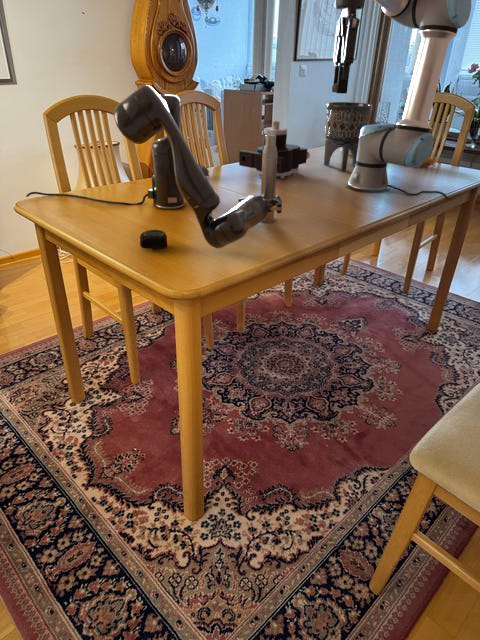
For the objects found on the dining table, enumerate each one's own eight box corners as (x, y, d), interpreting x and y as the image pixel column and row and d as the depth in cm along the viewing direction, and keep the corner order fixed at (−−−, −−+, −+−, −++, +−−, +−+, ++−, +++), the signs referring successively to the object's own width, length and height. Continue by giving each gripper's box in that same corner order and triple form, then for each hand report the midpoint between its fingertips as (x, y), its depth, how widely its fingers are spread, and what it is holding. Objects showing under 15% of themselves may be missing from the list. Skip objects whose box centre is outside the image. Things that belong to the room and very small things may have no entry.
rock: (201, 174, 190) (201, 158, 187) (214, 178, 185) (214, 162, 181) (174, 179, 183) (173, 162, 179) (187, 183, 177) (186, 166, 174)
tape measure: (140, 252, 115) (139, 238, 113) (141, 242, 120) (140, 229, 119) (167, 251, 116) (166, 237, 114) (167, 241, 121) (166, 228, 120)
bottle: (257, 220, 139) (260, 135, 127) (264, 217, 142) (268, 133, 130) (269, 223, 137) (273, 136, 125) (276, 219, 140) (281, 135, 128)
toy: (409, 160, 208) (403, 153, 221) (411, 174, 211) (405, 166, 224) (434, 152, 205) (427, 146, 218) (436, 166, 208) (429, 159, 221)
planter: (313, 167, 208) (319, 103, 195) (331, 160, 222) (338, 101, 209) (353, 173, 199) (362, 107, 185) (369, 166, 213) (379, 104, 199)
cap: (348, 92, 125) (349, 84, 124) (333, 92, 125) (334, 84, 124) (345, 91, 129) (346, 83, 128) (330, 91, 129) (331, 83, 128)
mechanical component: (240, 120, 182) (283, 115, 202) (239, 174, 192) (280, 164, 212) (283, 126, 170) (325, 120, 190) (280, 183, 180) (320, 171, 200)
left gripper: (274, 202, 121) (294, 188, 135) (226, 195, 126) (249, 182, 139) (273, 229, 125) (292, 212, 138) (226, 222, 129) (248, 206, 143)
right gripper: (328, -7, 122) (319, 90, 134) (345, -15, 107) (333, 94, 119) (355, -6, 123) (344, 90, 135) (376, -14, 108) (361, 95, 120)
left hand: (270, 197), depth 139 cm, fingers closed on bottle, 4 cm apart
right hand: (339, 92), depth 127 cm, fingers closed on cap, 4 cm apart
